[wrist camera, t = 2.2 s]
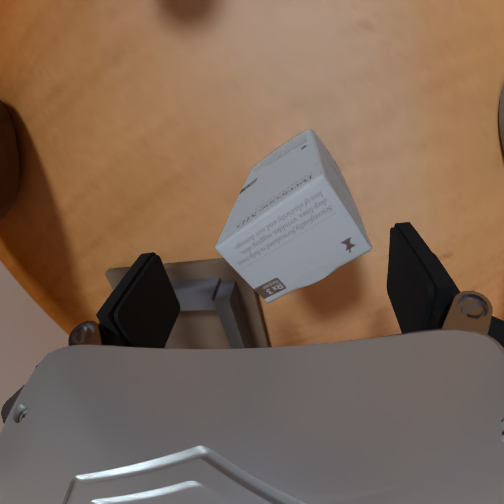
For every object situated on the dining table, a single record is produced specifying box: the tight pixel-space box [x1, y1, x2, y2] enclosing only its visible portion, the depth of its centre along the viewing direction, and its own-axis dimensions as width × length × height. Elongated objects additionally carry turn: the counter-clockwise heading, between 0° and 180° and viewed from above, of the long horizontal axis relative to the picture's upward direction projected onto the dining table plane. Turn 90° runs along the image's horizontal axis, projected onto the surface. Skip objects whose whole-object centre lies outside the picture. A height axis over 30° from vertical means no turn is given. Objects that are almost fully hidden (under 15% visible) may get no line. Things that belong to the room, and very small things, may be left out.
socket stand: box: [105, 258, 270, 349], centre depth 32 cm, size 17×17×4 cm
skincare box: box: [215, 129, 372, 303], centre depth 17 cm, size 6×4×12 cm
